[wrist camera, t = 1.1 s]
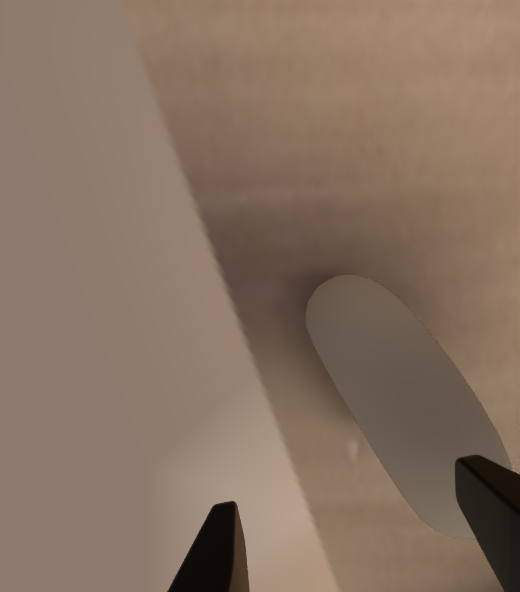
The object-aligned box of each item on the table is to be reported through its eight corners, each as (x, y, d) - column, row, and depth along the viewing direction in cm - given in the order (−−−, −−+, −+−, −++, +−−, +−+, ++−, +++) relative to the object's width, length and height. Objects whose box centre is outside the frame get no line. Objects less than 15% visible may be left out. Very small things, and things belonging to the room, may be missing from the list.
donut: (273, 279, 18) (323, 379, 9) (337, 239, 18) (459, 299, 9) (369, 430, 21) (487, 634, 11) (425, 398, 21) (594, 579, 11)
